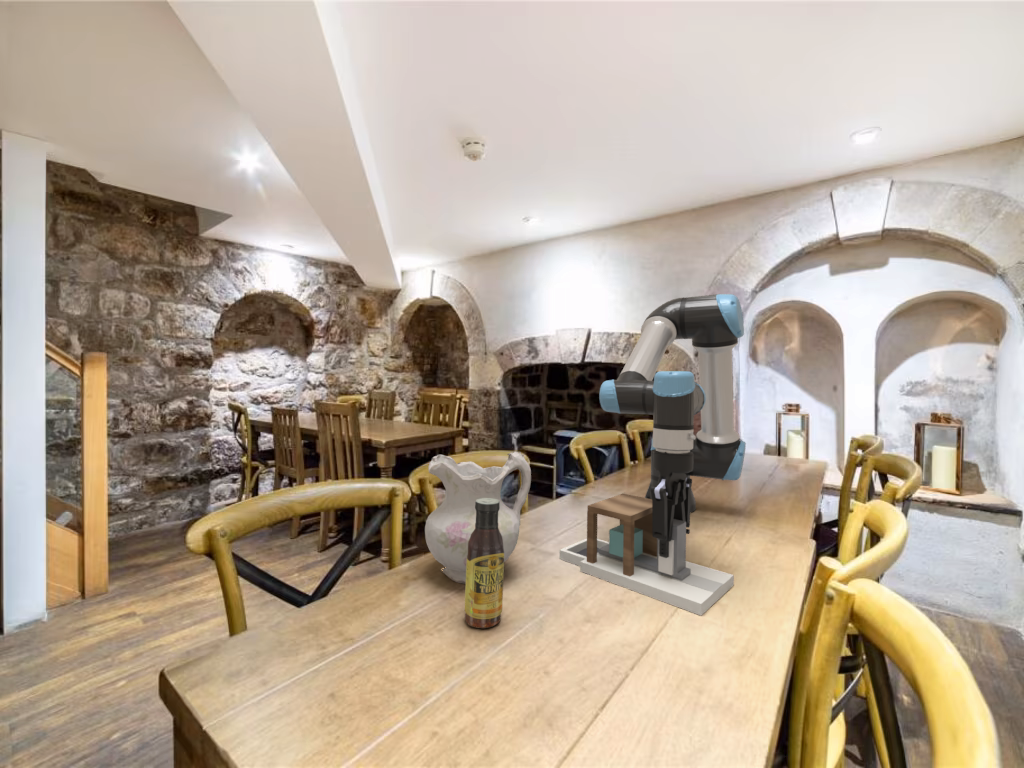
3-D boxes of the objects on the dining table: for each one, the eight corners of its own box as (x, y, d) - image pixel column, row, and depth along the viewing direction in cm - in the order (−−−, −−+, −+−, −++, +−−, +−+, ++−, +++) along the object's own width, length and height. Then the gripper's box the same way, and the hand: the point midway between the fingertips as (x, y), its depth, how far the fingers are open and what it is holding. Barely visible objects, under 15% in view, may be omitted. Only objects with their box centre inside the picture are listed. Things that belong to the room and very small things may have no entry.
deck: (595, 542, 111) (595, 534, 111) (733, 585, 89) (733, 574, 89) (553, 561, 99) (553, 551, 99) (701, 615, 77) (701, 603, 77)
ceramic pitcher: (506, 552, 107) (503, 446, 108) (549, 579, 90) (544, 452, 91) (415, 569, 98) (413, 453, 99) (444, 603, 80) (440, 461, 81)
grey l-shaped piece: (608, 548, 101) (608, 503, 101) (690, 573, 89) (691, 522, 88) (598, 553, 99) (598, 507, 98) (681, 580, 86) (682, 527, 86)
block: (621, 546, 100) (621, 524, 100) (642, 553, 96) (642, 529, 96) (609, 553, 96) (609, 529, 96) (630, 559, 93) (630, 535, 93)
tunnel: (622, 544, 105) (622, 493, 105) (663, 556, 98) (664, 502, 98) (586, 561, 95) (587, 505, 94) (629, 576, 88) (630, 516, 87)
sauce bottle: (473, 634, 71) (473, 508, 71) (458, 616, 76) (459, 498, 76) (510, 624, 74) (511, 503, 74) (494, 607, 79) (494, 494, 79)
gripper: (672, 457, 80) (670, 589, 80) (709, 447, 92) (707, 561, 93) (633, 452, 85) (632, 576, 86) (673, 443, 98) (672, 551, 98)
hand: (671, 568), depth 89 cm, fingers closed on grey l-shaped piece, 4 cm apart
